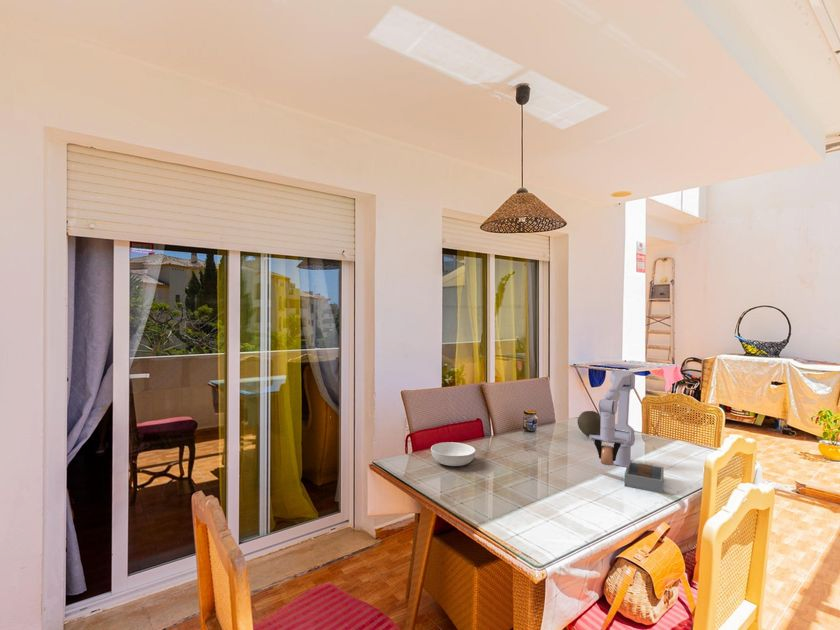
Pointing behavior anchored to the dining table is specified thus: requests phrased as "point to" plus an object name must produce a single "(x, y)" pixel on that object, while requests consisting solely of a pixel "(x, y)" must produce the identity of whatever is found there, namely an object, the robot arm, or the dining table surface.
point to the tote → (644, 478)
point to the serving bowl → (453, 453)
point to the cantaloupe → (589, 423)
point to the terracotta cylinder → (607, 455)
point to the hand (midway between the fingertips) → (607, 459)
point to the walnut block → (645, 470)
